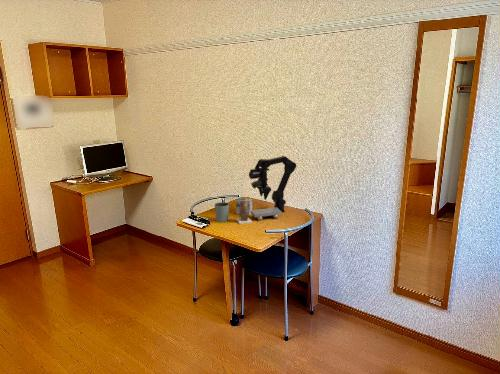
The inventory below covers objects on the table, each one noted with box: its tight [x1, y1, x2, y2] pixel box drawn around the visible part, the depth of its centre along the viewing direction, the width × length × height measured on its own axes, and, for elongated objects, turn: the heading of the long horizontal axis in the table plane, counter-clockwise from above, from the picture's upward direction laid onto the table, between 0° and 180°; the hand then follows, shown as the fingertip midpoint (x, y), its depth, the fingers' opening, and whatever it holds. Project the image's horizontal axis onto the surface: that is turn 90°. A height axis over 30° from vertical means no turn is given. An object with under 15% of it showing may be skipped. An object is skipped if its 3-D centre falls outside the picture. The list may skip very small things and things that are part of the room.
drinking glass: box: [214, 201, 230, 223], centre depth 271 cm, size 10×10×12 cm
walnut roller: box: [239, 201, 248, 221], centre depth 267 cm, size 5×5×13 cm
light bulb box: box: [235, 197, 253, 216], centre depth 286 cm, size 11×7×11 cm, turn 76°
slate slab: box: [250, 207, 283, 222], centre depth 276 cm, size 20×11×5 cm, turn 106°
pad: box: [235, 217, 253, 225], centre depth 269 cm, size 9×9×1 cm
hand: (263, 197), depth 278 cm, fingers open, 9 cm apart
